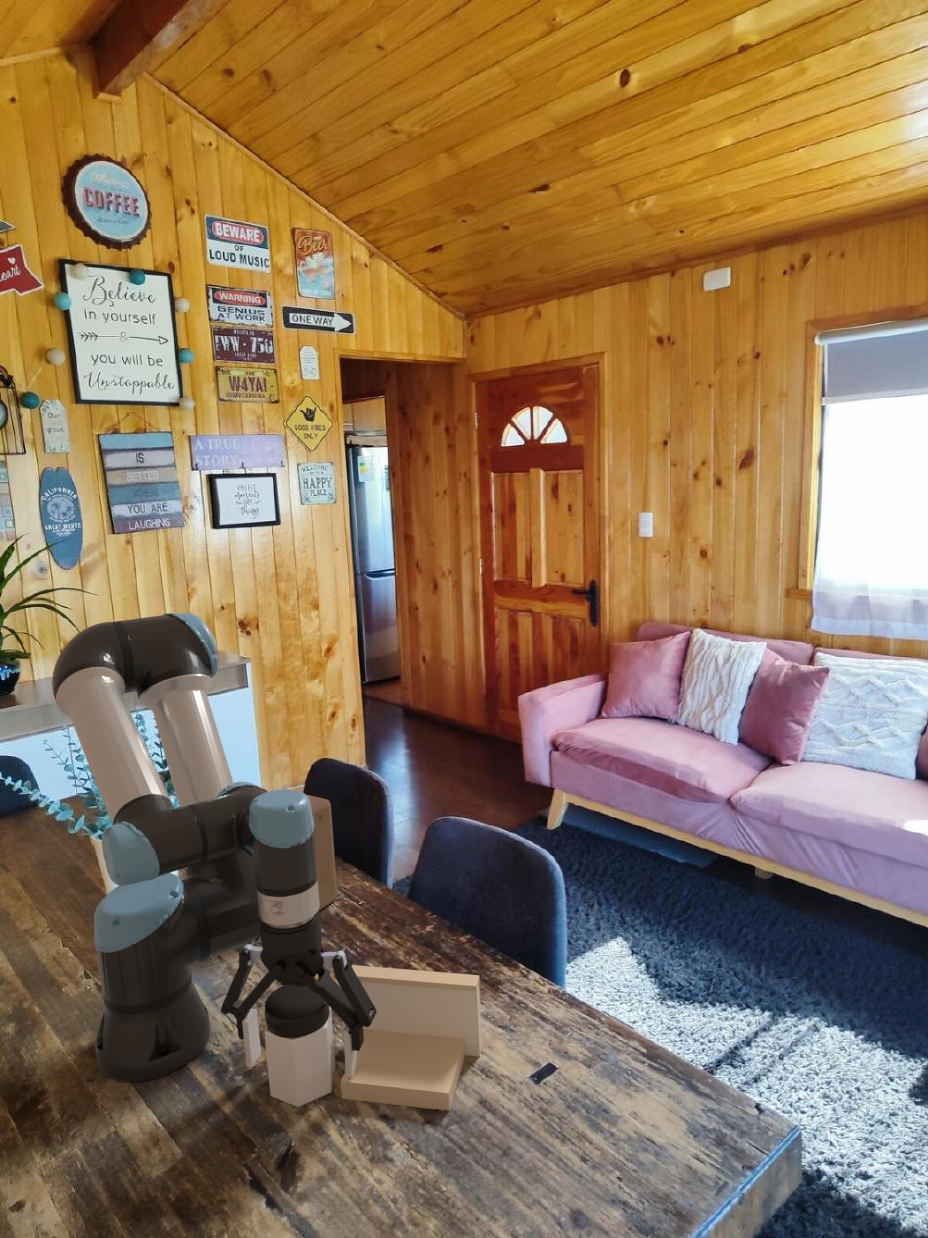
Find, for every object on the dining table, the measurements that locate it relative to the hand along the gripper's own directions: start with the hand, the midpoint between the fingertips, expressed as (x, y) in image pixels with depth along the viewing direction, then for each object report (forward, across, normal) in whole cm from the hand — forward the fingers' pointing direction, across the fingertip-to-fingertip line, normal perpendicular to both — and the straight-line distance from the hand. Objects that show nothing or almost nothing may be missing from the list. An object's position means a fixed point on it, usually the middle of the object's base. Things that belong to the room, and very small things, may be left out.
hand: (302, 1065), depth 107 cm
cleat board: (+3, +13, +4) cm, 14 cm away
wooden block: (+2, -18, +43) cm, 47 cm away
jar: (+3, 0, 0) cm, 3 cm away
